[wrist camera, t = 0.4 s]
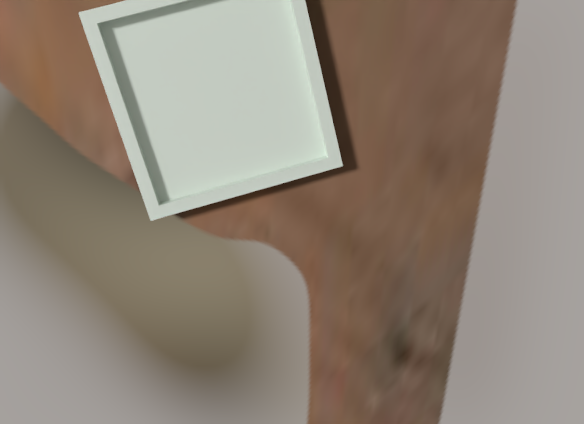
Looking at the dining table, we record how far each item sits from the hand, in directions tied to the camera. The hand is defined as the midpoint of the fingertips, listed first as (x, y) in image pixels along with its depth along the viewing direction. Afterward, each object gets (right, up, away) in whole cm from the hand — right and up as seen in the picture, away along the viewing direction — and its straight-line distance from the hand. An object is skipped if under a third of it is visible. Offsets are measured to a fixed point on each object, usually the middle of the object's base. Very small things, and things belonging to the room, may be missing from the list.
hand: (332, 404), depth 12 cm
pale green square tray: (-5, +12, +24) cm, 27 cm away
